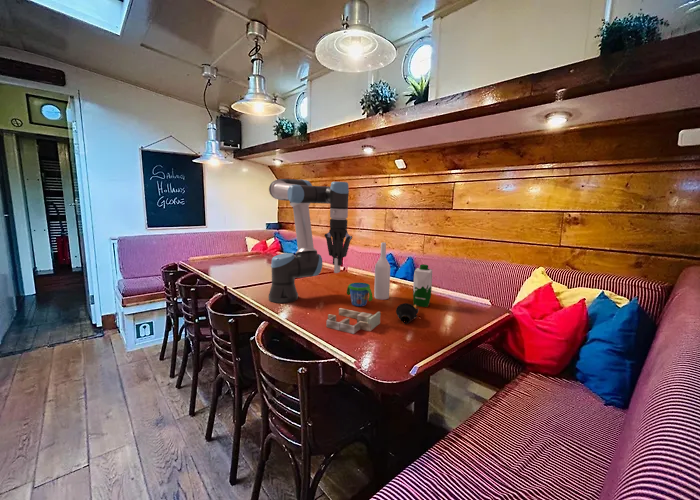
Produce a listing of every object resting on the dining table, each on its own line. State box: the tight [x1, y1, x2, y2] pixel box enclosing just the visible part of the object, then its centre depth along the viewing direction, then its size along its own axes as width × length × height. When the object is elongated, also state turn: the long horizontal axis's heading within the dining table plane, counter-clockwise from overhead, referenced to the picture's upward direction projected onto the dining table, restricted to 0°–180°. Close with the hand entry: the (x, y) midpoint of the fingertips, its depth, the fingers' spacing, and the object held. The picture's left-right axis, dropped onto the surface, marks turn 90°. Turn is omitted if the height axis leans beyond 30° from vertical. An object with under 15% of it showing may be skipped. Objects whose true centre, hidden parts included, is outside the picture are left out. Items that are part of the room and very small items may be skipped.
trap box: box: [325, 307, 381, 335], centre depth 129 cm, size 20×16×5 cm
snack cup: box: [346, 282, 373, 307], centre depth 154 cm, size 16×10×10 cm
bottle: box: [373, 241, 391, 301], centre depth 165 cm, size 8×8×30 cm
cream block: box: [356, 311, 373, 324], centre depth 129 cm, size 4×4×4 cm
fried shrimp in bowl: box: [395, 303, 420, 325], centre depth 137 cm, size 9×11×18 cm
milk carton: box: [412, 264, 433, 308], centre depth 155 cm, size 9×9×20 cm
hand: (337, 272), depth 136 cm, fingers closed
